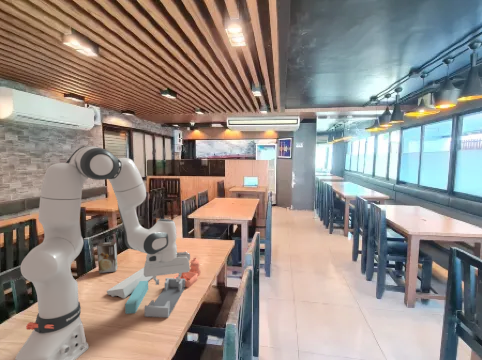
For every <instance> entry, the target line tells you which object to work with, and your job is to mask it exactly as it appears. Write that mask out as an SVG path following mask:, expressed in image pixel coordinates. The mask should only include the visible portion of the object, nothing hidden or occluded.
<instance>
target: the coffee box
mask: <svg viewBox="0 0 482 360" xmlns="http://www.w3.org/2000/svg"><path fill="white" fill-rule="evenodd" d="M96 248H97V259H98V260H97V263H98V264H97V265H98V273H99V274H104V273H111V272H117V269H118V267H119V266H118V254H117V252H118V250H117V241H107V242H99V244H98V245H97V247H96Z"/></svg>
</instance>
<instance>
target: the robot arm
mask: <svg viewBox="0 0 482 360" xmlns="http://www.w3.org/2000/svg"><path fill="white" fill-rule="evenodd" d="M88 179H92V180H95V181H103V180H108V181H109V183H110V185H111V187H112V190H113V193H114V195H115V198H116V200H117V209H118V212H119V217H120V220H121V223H122V225H123V230H124V240H123V241H124V244H125V246H126V248H128V249H130V250H134V251H138V252H141V253H143V254H146V258H145V262H144V266H143V268H144V276H145V277H151V276H153V278H152V280H153V281H154V282H155V286H157V285H160V279H158V278H157V277H158V276H159V277H160V276H166V275H174V274H176V275H177V274H179V276H178V277H176V282H179V278H180V277H181V275H182V273H184V272H189V271H190V269H191V267H190V265H191V264H190V261H191V260H190V259H191V253H189V252H187V251H181V252H178V249H177V248H178V247H177V246H178V245H177V243H176V242H177V227H176V223H175V221H174V220H173V219H170V218H159V219H157V220H156V222H155V224H154V225H153V226H151V227H150V228H149V229H148V228H145V227H143V226H142V225H141V223H140V222H139V218H138V214H137V210H136V209H137V207H138V206H140V205H142V204H143V202H144V201H145V200H146V197H147V189H146V185H145V183H144V180H143V177H142V175H141V172H140V170H139V169H138V167H137V165H136V164H135V162H134V160H133V159H131V158H128V157H117V156H115V155H114V154H113V153H112V152H111V151H109V150H107V149H106V148H102V147H99V146H95V145H86V146H81V147H79V148H78V149H76V150H75V151H74V152H73V153H72V154H71V156H70V157H69V158H68V159H67V160H66V162H57V163H54V164H51V165H50V166H48V167H47V168H46V171H45V173H44V176H43V179H42V184H41V188H40V194H39V195H40V197H39V207H38V208H39V209H38V218H37V219H38V222H39V223H40V224H41V225H42V229H43V236H44V237H43V241H42V242H41V243H40V244H37V246H35V247H33V248H32V249H31V250H30V251H29V252H28V253H27V255H25V257H24V258H23V260H22V261H21V263H20V273H21V275H22V277H23V278H25V280H27V281H29V282H31V283H32V285H33V286H34V289H35V292H36V295H37V296H36V297H37V311H38V313H37V315H36V318H35V322H33V321H30V322H28V323H27V324H26V327H25V328H26V330H32V332H31V333H30V335H29V336H28V338H27V340H26V341H25V343H24V344H23V345H22V347H21V348H20V350H18V352H17V354H16V356H15V360H77V359H78V358H79V357H80V356H81V355H83V354H84V353H86V351H87V350H88V349H89V343H88V342H87V338H86V336H85V335H86V334H85V329H84V324H83V321H82V319H81V312H82V311H81V309H82V308H81V307H82V306H81V303H80V301H79V285H78V284H79V283H78V281H77V280H76V279H75V278H74V277H73V276H74V275H73V273H72V270H71V269H72V268H71V267H72V264H73V262H74V260H76V258H77V257H78V256H79V255H80V253H81V252H82V249H83V247H84V242H85V241H84V238H83V236H82V231H81V219H80V217H81V205H82V196H83V195H82V193H83V187H84V184H85V183H86V181H87V180H88Z"/></svg>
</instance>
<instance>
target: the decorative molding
mask: <svg viewBox="0 0 482 360" xmlns="http://www.w3.org/2000/svg"><path fill="white" fill-rule="evenodd" d="M151 279H152V280H153V276H151V277H145V276H144V267H142V268H140V269H139V270H138V271H136V272H134V273H133V274H131V275H130V276H129V277H127V278H125V279H123V280H122V281H120V282H119V283H116V285H114V286H112V287H111V288H108V290H106V293H107V295H108V296H111V298H112V297H113V298H114V297H117V296H118V297H119V298H121V299H126V298H127V297H128V296H131V294H132V293H133V291H134V290H135V288H136V287H137V285H138V283H139V282H140V281H148V282H149V281H151Z"/></svg>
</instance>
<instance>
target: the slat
mask: <svg viewBox="0 0 482 360" xmlns="http://www.w3.org/2000/svg"><path fill="white" fill-rule="evenodd" d="M148 290H149V281H140V282H139V283H138V285H137V287H136V288H135V290H134V291H133V293H131V294H130V295H129V297H128V299H127V301H126V303H125V305H124V309H125V310H124V311H125V314H127V315H128V314H136V313H137V311H138V309H139V307H140V305H141V304H142V302H143V300H144V298H145V297H146V295H147V292H148Z"/></svg>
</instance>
